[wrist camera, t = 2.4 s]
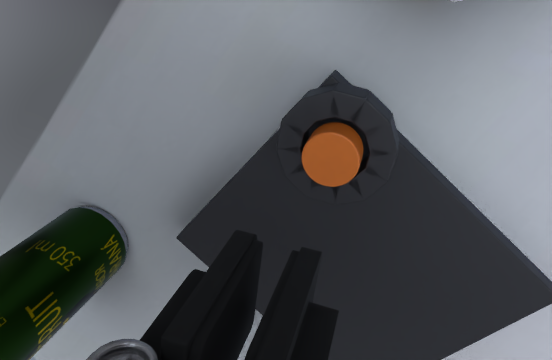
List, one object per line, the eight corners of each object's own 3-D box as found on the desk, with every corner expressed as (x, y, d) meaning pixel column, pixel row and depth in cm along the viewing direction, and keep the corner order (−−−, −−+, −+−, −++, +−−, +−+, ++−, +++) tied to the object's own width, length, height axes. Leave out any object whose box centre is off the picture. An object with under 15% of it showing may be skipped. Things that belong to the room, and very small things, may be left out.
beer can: (67, 255, 33) (-95, 386, 22) (62, 193, 30) (-122, 308, 20) (132, 277, 32) (-6, 425, 22) (132, 214, 29) (-23, 348, 19)
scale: (182, 224, 29) (159, 249, 26) (342, 54, 21) (332, 65, 19) (361, 384, 30) (355, 423, 27) (566, 275, 23) (585, 314, 20)
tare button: (297, 147, 21) (289, 159, 20) (335, 110, 20) (329, 120, 19) (336, 183, 22) (330, 198, 20) (375, 149, 20) (372, 162, 19)
